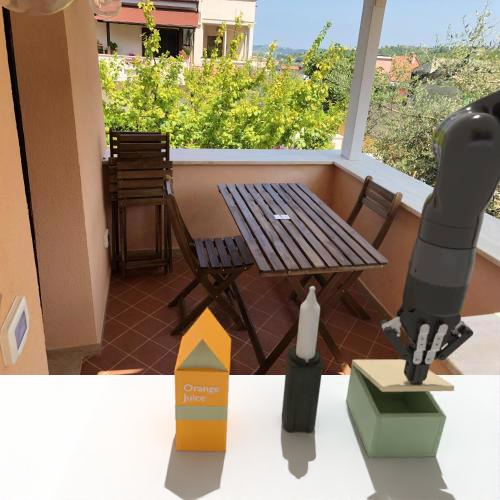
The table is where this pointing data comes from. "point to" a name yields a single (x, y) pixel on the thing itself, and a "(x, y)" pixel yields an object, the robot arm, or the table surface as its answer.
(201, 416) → the orange juice
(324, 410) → the table surface
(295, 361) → the candle
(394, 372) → the lid
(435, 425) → the chest
